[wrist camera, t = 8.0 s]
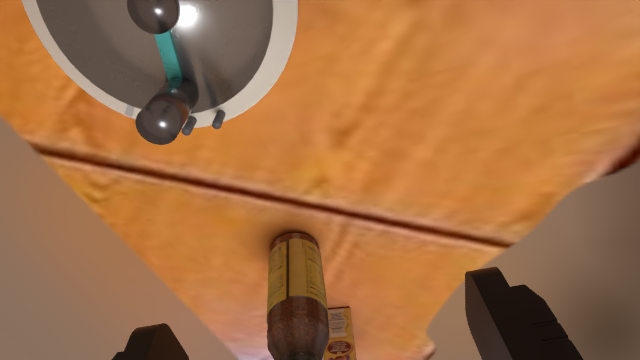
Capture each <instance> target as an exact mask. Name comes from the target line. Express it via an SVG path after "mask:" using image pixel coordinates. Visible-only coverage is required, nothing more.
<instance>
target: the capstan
mask: <svg viewBox="0 0 640 360" xmlns="http://www.w3.org/2000/svg"><path fill="white" fill-rule="evenodd" d="M36 2H37V5H38V8H39V11H40V13H41V16H42V19H43V21H44V23H45V25H46V27H47V29H48V31H49V33H50V35H51V36H52V38H53V39H54V41H55V43H56V44H57V46H58V47H59V49H60V50H61V51H62V53H63V54H64V55H65V56H66V58H67V59H68V60H69V62H70V63H71V64H72V65H73V66H74V67H75V68H76V69H77V70H78V71H79V72H80V73H81V74H82V75H83V76H84V77H85V78H87V79H88V80H89V81H90V82H91V83H92V84H94V85H95V86H96V87H98V88H99V89H101V90H102V91H104V92H105V93H107V94H108V95H110V96H112V97H114V98H115V99H117V100H119V101H121V102H123V103H126V104H128V105H130V106H133V107H135V108H139V109H142V110H141V111H140V112H139V113H138V115H137V117H136V128H137V130H138V132H139V133H140V135H141V136H142V137H143V138H144V139H146V140H147V141H149V142H151V143H154V144H158V145H164V144H168V143H171V142H172V141H173V140H175V138H176V137H177V135H178V134H179V132H180V130H181V129H182V127H183V125H184V124H185V122H186V120H187V119H188V117H189V115H190V114H193V113H199V112H203V111H206V110H209V109H213V108H215V107H217V106H219V105H221V104H224V103H225V102H227V101H228V100H230V99H231V98H233V97H235V96H236V95H237V94H238V93H239V92H240V91H241V90H243V89H244V88H245V87H246V85H247V84H248V83H249V82H250V81H251V80H252V79H253V77H254V75H255V74H256V72H257V71H258V69H259V68H260V66H261V64H262V61H263V59H264V57H265V55H266V52H267V49H268V45H269V42H270V38H271V33H272V27H273V12H274V7H273V0H36Z"/></svg>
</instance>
